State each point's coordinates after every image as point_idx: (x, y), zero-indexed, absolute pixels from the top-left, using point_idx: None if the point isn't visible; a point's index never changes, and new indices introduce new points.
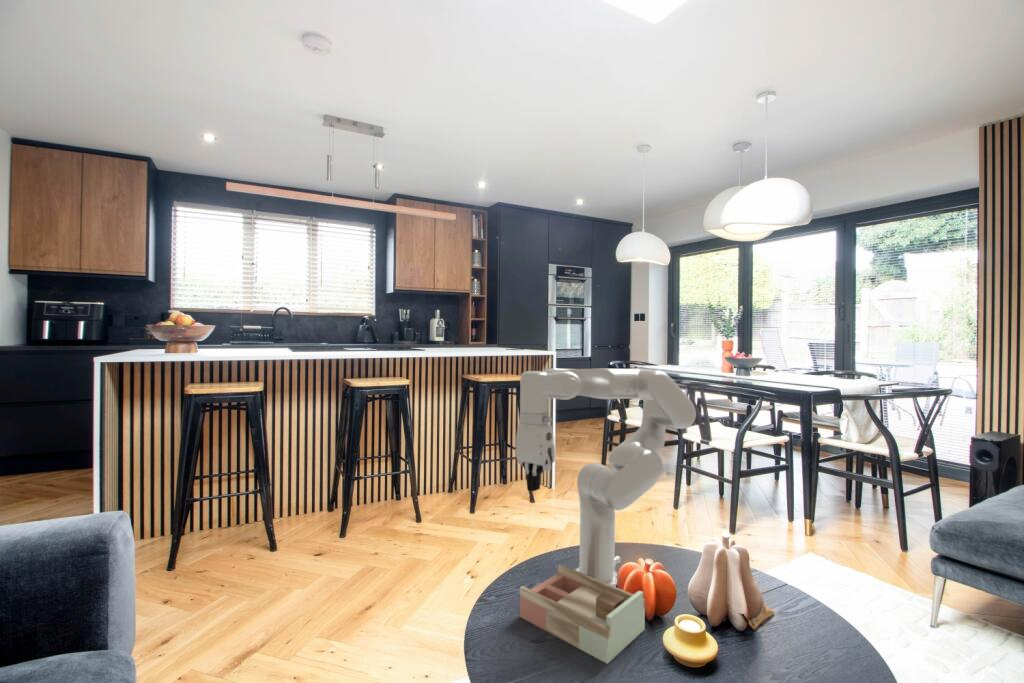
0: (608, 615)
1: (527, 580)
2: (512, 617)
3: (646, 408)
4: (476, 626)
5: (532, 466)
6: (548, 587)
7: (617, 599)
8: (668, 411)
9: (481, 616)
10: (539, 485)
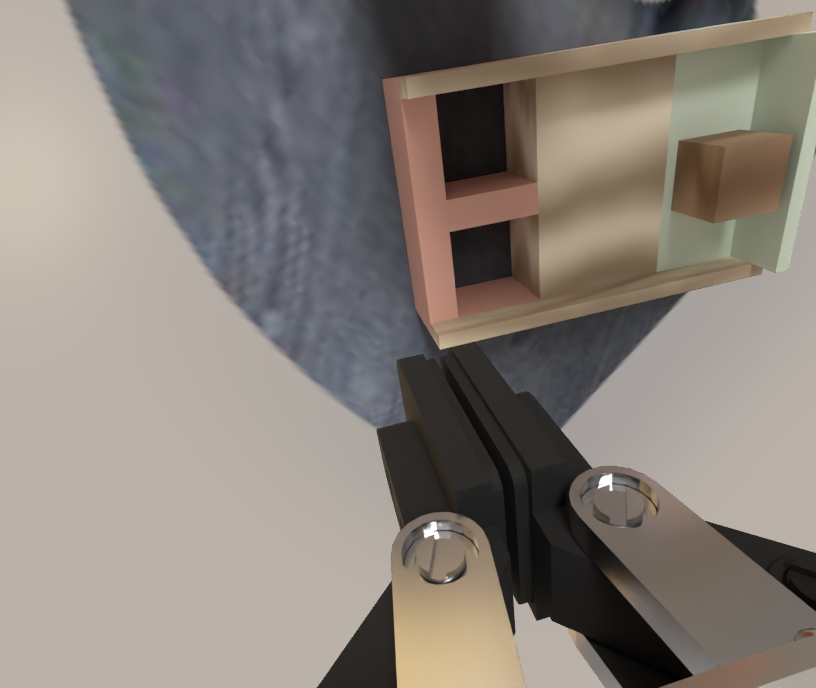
0: (779, 265)
1: (231, 135)
2: (404, 327)
3: None
4: (378, 423)
5: (466, 654)
6: (457, 220)
7: (775, 166)
8: None
9: (346, 395)
10: (529, 401)
